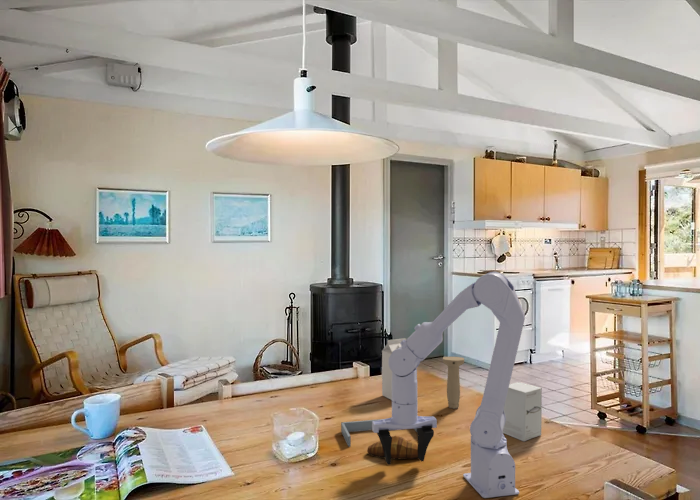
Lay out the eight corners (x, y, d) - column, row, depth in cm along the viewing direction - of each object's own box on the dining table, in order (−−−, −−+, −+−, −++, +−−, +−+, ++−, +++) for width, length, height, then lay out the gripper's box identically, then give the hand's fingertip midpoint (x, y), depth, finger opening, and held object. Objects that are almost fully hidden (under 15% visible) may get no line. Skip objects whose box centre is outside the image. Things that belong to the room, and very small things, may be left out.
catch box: (425, 439, 123) (425, 429, 123) (348, 446, 119) (348, 436, 119) (413, 425, 132) (413, 416, 132) (341, 431, 128) (341, 422, 128)
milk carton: (382, 395, 158) (381, 338, 158) (399, 392, 161) (399, 336, 161) (393, 402, 152) (393, 342, 152) (412, 398, 155) (412, 340, 155)
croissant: (423, 451, 116) (423, 431, 116) (424, 464, 110) (424, 443, 109) (368, 449, 118) (368, 429, 118) (365, 461, 111) (365, 440, 111)
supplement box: (524, 442, 121) (524, 392, 121) (500, 432, 127) (500, 385, 127) (542, 435, 125) (542, 387, 125) (518, 426, 131) (518, 380, 131)
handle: (464, 410, 144) (464, 360, 144) (443, 409, 145) (442, 360, 145) (463, 405, 149) (463, 357, 148) (442, 404, 150) (442, 356, 149)
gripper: (428, 393, 112) (428, 450, 112) (368, 397, 109) (368, 456, 110) (440, 402, 105) (440, 464, 106) (376, 407, 102) (376, 470, 103)
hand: (404, 461), depth 107 cm, fingers open, 7 cm apart
